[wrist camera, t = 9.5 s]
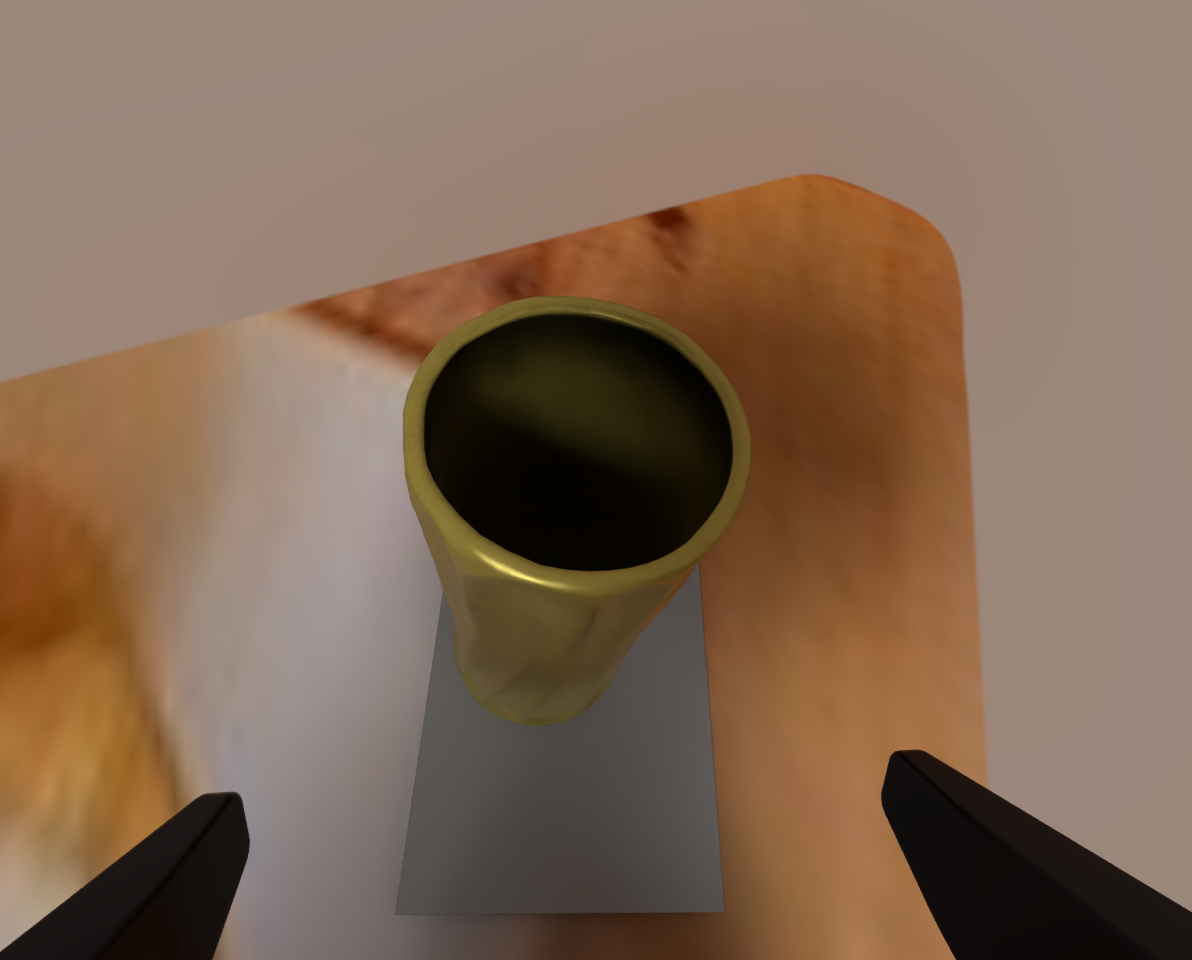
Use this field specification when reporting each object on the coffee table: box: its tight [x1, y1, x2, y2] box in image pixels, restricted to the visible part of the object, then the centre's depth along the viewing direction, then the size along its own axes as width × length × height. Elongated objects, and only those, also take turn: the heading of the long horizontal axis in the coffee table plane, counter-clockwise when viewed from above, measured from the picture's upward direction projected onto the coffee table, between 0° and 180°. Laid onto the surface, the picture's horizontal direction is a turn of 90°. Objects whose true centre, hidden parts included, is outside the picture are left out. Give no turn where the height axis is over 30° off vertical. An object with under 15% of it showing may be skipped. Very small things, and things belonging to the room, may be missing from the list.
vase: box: [403, 296, 752, 726], centre depth 15 cm, size 6×6×14 cm
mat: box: [395, 562, 724, 915], centre depth 20 cm, size 13×10×1 cm
